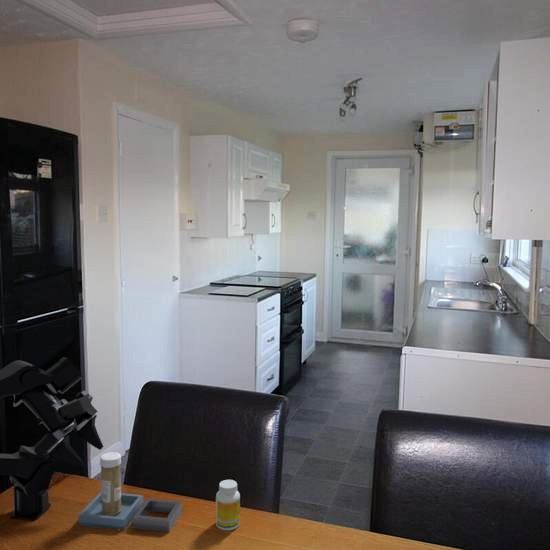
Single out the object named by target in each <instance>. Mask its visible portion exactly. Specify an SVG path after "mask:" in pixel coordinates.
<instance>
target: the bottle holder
mask: <svg viewBox="0 0 550 550" xmlns="http://www.w3.org/2000/svg"><path fill="white" fill-rule="evenodd" d="M182 505H183V502H182V501H180V500H178V501H177V500H171V499H169V500H168V499H158V498H149V497H147V498H146V499H145V501H143V505H142V506H141V507H140V509H139V510H138V511H137V513H136V514H135V515H134V517H133V520H132V529H134V528H135V530H142V531H143V530H144V531H145V530H146V531H154V532H165V533H170V532H171V530H172V529H173V528H174V526H175V523H176V522H177V520H178V519H179V517H180V515H181V514H182V511H183V508H182ZM149 512H156V513H164V514H165V513H166V514H168V516H167V517H154V516H147V515H148V514H149Z"/></svg>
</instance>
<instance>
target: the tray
mask: <svg viewBox="0 0 550 550" xmlns="http://www.w3.org/2000/svg"><path fill="white" fill-rule="evenodd" d="M143 503H144V495H141V494H133V493H124V492H123V493H122V492H121V507H122V510H121V512H120V513H119V514H117V515H114V516H105V515H103V514H102V497H101V491H99V493H98V494H97V495H96V496H95V497H94V498H93V499H92V500H91V501H90V502H89V504H88V505H87V506H86V507H84V509H83V510H82V511H80V513H79V514H78V526H80V527H86V528H87V527H88V528H89V527H90V528H96V527H97V528H99V529H105V528H110V529H109V530H115V529H120V530H119V531H126V529H127V528H126V527H129V525H130V524H131V522H133V520H132V519H133V517H134V515H135V514H136V513H137V511H138V510H139V509H140V507H141V506H142V505H143ZM129 523H130V524H129Z"/></svg>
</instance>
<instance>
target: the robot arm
mask: <svg viewBox="0 0 550 550" xmlns="http://www.w3.org/2000/svg"><path fill="white" fill-rule="evenodd" d="M82 378H83V375H82V373H81V370H80V369H79V368H78V367H76V366H75V365H74V363H72V362H71V361H70V360H69V358H67V357H64V356H63V357H61V358H60V359H59V360H58V361H57V362H56V363H55V364H53V365H52V366H51V367H50V368H49V367H48V369H46V370H44V369H42V368H38V367H37V366H36V365H33V364H32V363H29V362H27V361H23V360H14V361H12V362H10V363H8V364H7V365H5V366H4V367H3V368H1V369H0V399H2V398H4V397H8V396H9V397H10V396H13V398H14V399H13V405H12V406H13V407H14V408H16V407H18V406H19V405H20V404H21V403H23V404H24V405H25V406H26V407H27V408H28V409H29V410H30V411H31V412H32V414H34V415H35V417H36V418H37V419H36V421H35V423H36V424H37V425H38V426H39V425H41V424H43V425H44V426H45V427H46V429H47V430H48V432H47V433H46V434H45V435H44V436H43V437H42V438H41V439H39V441H37V442H36V443H35V444H34V446H25V445H19V450H18V451H17V452H14V453H0V476H1V475H4V476H5V475H6V476H7V475H8V476H9V479H10V481H11V483H12V484H13V485H15V486H14V487H13V502H14V503H13V504H14V505H13V506H14V507H13V508H14V510H13V512H11V513H10V515H9V517H10V518H13V519H14V518H15V519H22V520H23V519H24V520H31V521H36V520H37V519H39V518H40V517H41V516H42V515H43V514H44V513H45V512H46V511H47V510H48V509H49V508H50V507H51V506H52V503H50V502H49V491H48V489H49V487H50V484H51V480H52V477H53V475H54V474H55V472H56V469H57V463H56V460H58V461H61V462H64V463H66V464H70V465H73V466H75V467H78V468H82V467H83V466H84V465H85V463H84V462H83V460H82V459H81V457H80V456H79V454H78V453H77V452H76V451H75V449H74V448H73V447H72V445H71V443H70V435H67V434H68V433H70V432H72V431H74V432H75V435H76V436H77V437H79V438H80V439H82V440H83V441H85V442H86V443H88V444H89V445H90V446H92V447H94V448H96V449H98V450H99V451H101V450H102V449H103V448H104V444H103V443H102V440H101V438H100V435H99V433H98V431H97V430H98V429H97V428H96V418H97V417H98V416H97V413H98V410H97V409H96V408H95V407H94V405H93V404H92V400H93V396H92V395H90V394H89V392H87V390H82V391H80V392H78V393H76V394H75V399H72V400H71V401H67V400H66V399H64V398H62V399H58V397H57V396H56V394H58V393H60V394H65V392H67V391H68V390H69V389H70V388H72V387H73V386H75V384H77V383H78V382H79V381H80V380H81V379H82Z"/></svg>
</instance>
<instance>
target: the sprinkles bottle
mask: <svg viewBox="0 0 550 550" xmlns="http://www.w3.org/2000/svg"><path fill="white" fill-rule="evenodd" d="M99 462H100V463H99V465H100V473H101V475H100V476H101V477H100V489H101V491H100V492H101V497H102V514H103V515H105V516H114V515H117V514H119V513H120V512H121V510H122V507H121V493H122V476H121V475H122V474H121V464H122V454H121V453H120V452H115V451H109V452H106V453H103V454H102V455H101V456H100V458H99Z"/></svg>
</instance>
